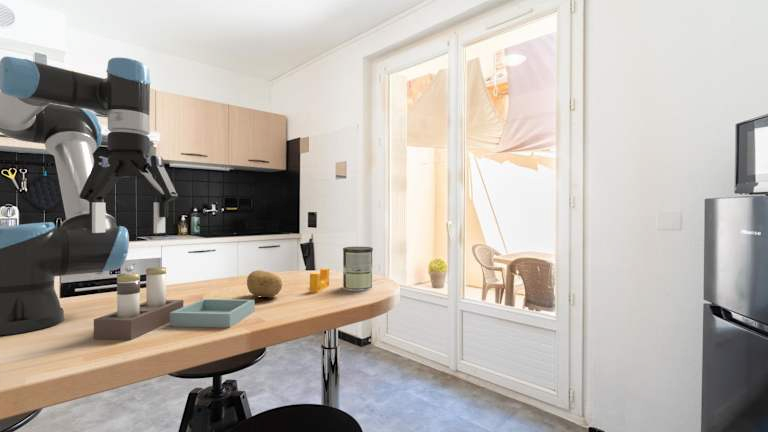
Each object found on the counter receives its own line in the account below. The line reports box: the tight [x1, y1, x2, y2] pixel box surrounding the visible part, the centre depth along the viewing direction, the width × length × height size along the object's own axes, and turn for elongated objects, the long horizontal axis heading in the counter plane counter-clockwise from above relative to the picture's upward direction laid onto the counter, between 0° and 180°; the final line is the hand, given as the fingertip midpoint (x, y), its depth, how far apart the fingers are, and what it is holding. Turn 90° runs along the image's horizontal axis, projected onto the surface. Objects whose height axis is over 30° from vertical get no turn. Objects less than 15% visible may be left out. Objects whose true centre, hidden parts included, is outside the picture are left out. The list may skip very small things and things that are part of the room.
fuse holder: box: [93, 299, 184, 341], centre depth 86 cm, size 8×18×4 cm, turn 177°
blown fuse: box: [116, 272, 141, 318], centre depth 82 cm, size 4×4×12 cm
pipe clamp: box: [309, 268, 330, 294], centre depth 129 cm, size 12×4×6 cm, turn 170°
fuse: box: [145, 266, 167, 307], centre depth 91 cm, size 4×4×12 cm
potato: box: [246, 270, 283, 299], centre depth 116 cm, size 10×14×8 cm
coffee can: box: [342, 246, 374, 292], centre depth 131 cm, size 10×10×14 cm
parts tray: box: [169, 298, 256, 329], centre depth 93 cm, size 14×14×3 cm
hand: (129, 233), depth 81 cm, fingers open, 13 cm apart
